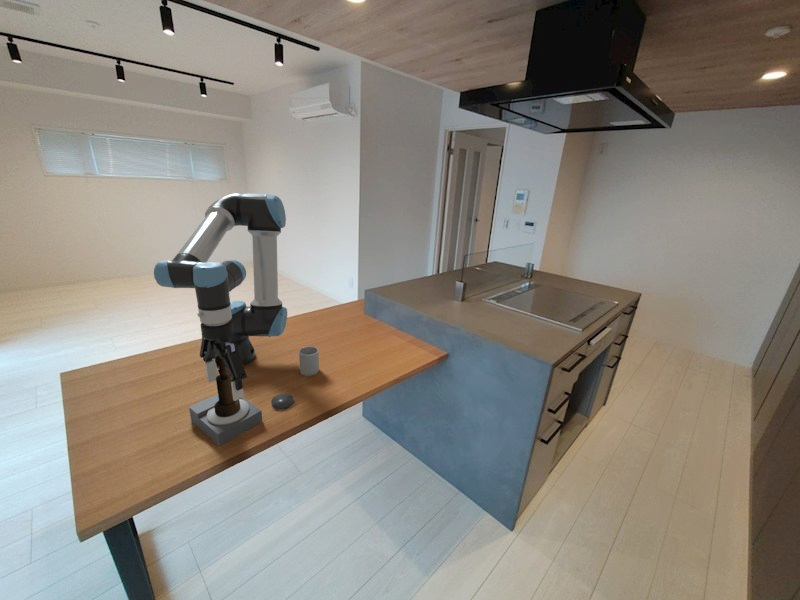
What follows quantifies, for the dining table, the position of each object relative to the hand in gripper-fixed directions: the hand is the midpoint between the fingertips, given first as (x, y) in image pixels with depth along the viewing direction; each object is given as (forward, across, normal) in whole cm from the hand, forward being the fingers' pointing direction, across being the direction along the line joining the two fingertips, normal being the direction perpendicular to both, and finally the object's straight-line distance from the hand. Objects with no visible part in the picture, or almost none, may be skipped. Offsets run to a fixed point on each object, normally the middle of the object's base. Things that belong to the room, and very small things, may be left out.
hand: (225, 389), depth 96 cm
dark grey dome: (+12, +4, +16) cm, 20 cm away
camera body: (+12, -2, 0) cm, 12 cm away
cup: (+12, -6, +35) cm, 38 cm away
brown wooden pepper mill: (+7, 0, 0) cm, 7 cm away
